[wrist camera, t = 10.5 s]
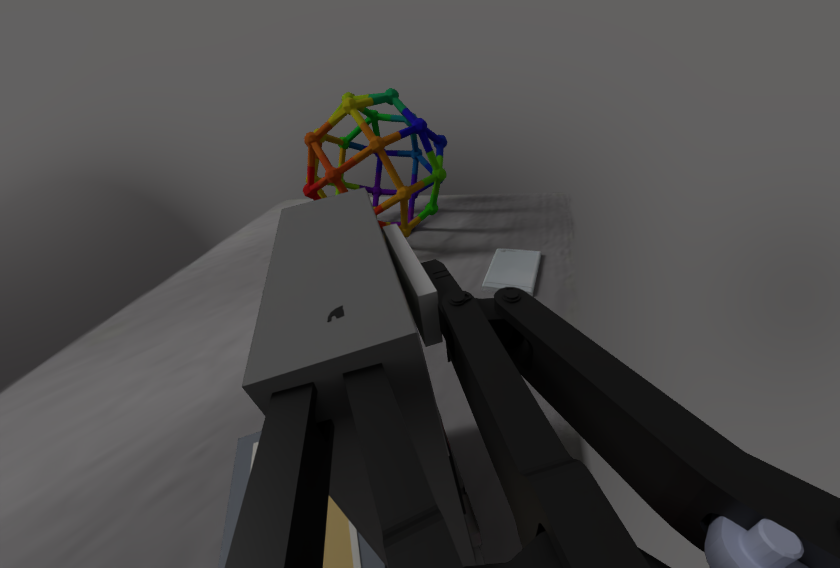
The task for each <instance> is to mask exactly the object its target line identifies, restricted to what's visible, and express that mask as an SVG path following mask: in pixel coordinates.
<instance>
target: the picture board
mask: <svg viewBox="0 0 840 568" xmlns="http://www.w3.org/2000/svg"><path fill="white" fill-rule="evenodd" d="M261 432H262V431H260V432H257V433H254V434H251V435H248V436H245V437H242V438H239V439H238V444H237V451H236V457H235V464H234V470H233V476H232V483H231V489H230V495H229V502H228V508H227V515H226V521H225V527H224V534H223V540H222V547H221V553H220V559H219V566H218V568H225V564H226V560H227V557H228V553H229V549H230V546H231V542H232V538H233V535H234V531H235V527H236V524H237V520H238V516H239V513H240V509H241V505H242V502H243V498H244V494H245V491H246V487H247V483H248V480H249V476H250V472H251V469H252V465H253V461H254V458H255V454H256V450H257V447H258V443H259V439H260V436H261ZM323 568H386V567H385V564H384V563H383V562H382V561H381V559H380V558H379V557H378V556H377V554H376V553H375V552H374V551H373V549H372V548H371V547H370V546H369V544H368V543H367V542H366V541H365V539H364V538H363V537H362V536H361V534H360V533H359V532H358V531H357V529H356V528H355V527H354V526H353V524H352V523H351V522H350V521H349V519H348V518H347V517H346V516H345V514H344V513H343V512H342V511H341V510H340V508H339V507H338V506H337V505H336V503H335V502H334V501H333V500H332V498H331V497H330V496H329V499H328V511H327V523H326V535H325V547H324V559H323Z"/></svg>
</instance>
